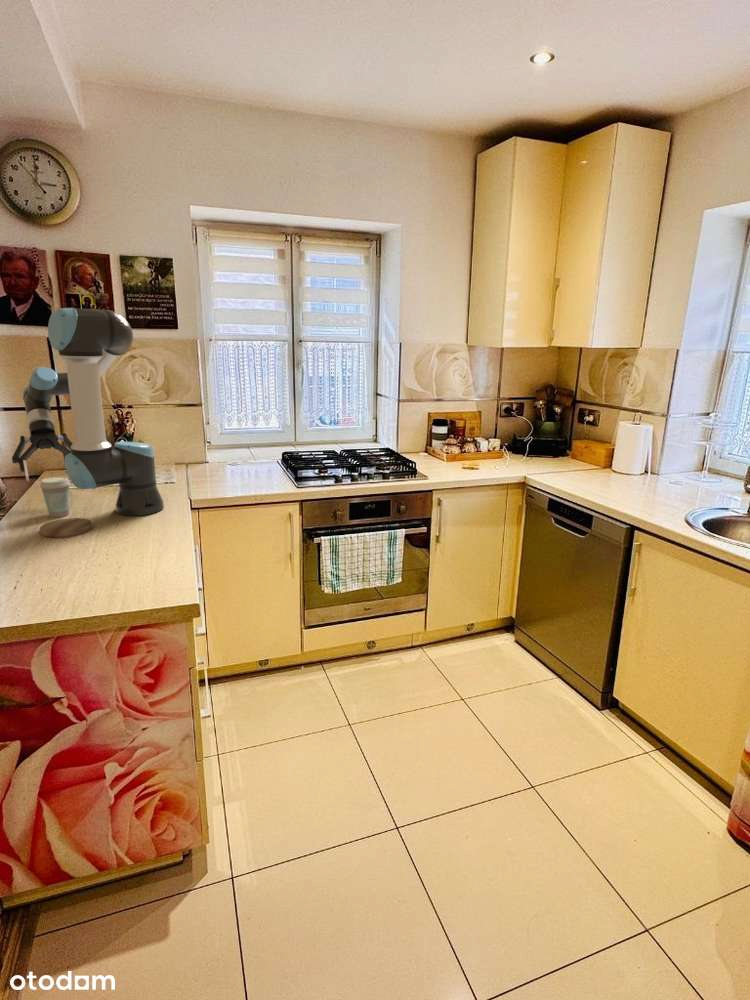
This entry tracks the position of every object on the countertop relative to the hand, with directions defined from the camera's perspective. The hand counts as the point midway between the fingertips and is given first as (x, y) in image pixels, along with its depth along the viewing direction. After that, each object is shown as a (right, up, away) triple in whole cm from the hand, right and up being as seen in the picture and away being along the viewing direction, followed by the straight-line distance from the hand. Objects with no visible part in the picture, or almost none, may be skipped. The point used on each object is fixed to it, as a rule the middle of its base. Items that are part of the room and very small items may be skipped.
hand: (51, 476), depth 185 cm
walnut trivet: (+14, -17, -15) cm, 27 cm away
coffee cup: (+4, -13, -2) cm, 13 cm away
